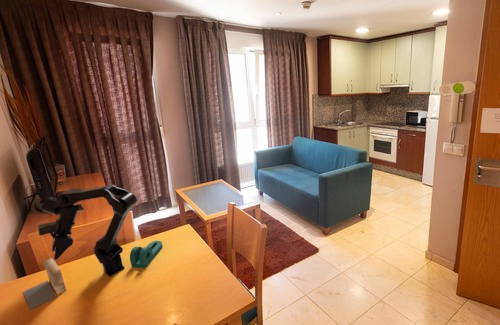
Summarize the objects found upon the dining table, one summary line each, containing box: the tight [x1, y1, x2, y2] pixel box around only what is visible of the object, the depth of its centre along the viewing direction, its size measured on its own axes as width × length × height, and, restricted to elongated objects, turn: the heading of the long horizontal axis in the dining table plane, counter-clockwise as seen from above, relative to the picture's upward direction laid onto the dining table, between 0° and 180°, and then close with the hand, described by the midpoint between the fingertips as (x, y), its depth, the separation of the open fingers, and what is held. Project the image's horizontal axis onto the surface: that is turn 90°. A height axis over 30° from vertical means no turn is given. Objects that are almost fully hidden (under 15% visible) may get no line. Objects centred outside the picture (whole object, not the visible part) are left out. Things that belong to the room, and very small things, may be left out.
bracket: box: [129, 240, 163, 269], centre depth 121 cm, size 18×7×8 cm, turn 170°
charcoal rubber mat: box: [22, 280, 58, 311], centre depth 101 cm, size 8×14×1 cm, turn 49°
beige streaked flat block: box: [42, 257, 67, 296], centre depth 104 cm, size 3×12×10 cm, turn 49°
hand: (54, 255), depth 106 cm, fingers open, 9 cm apart
